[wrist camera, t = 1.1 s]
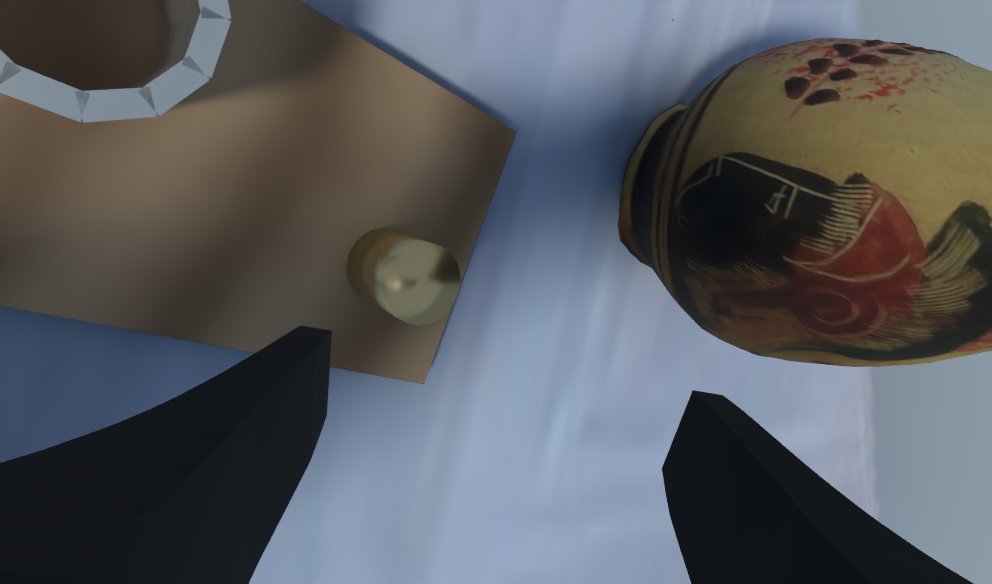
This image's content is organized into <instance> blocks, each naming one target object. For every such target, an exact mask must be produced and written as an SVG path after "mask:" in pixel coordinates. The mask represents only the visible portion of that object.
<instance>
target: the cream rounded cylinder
mask: <svg viewBox="0 0 992 584" xmlns="http://www.w3.org/2000/svg"><path fill="white" fill-rule="evenodd" d="M347 276H348V280H349V282H350V284H351V286H352V288H353V289H354V290H355V291H356V292H357V293H358V294H359V295H360V296H361V297H363V298H365V299H367V300H368V301H370V302H372V303H373V304H375V305H377V306H378V307H380V308H382V309H383V310H385V311H387V312H388V313H390V314H392V315H393V316H395V317H397V318H398V319H400V320H402V321H404V322H406V323H408V324H411V325H427V324H430V323H433V322H435V321H437V320H439V319H440V318H441V317H443V316H444V315H445V314H446V313H447V312H448V311H449V310H450V308H451V307H452V306H453V304H454V302H455V300H456V298H457V296H458V293H459V289H460V270H459V266H458V264H457V261H456V260H455V258H454V257H453V255H452V254H451V253H450V252H449V251H448V250H446V249H445V248H443V247H441V246H439V245H436V244H433V243H430V242H427V241H424V240H421V239H419V238H416V237H413V236H410V235H407V234H404V233H401V232H398V231H395V230H392V229H387V228H381V229H375V230H372V231H370V232H368V233H366V234H364V235H363V236H362V237H360V238H359V239H358V240H357V242H356V243H355V244H354V245H353V247H352V249H351V251H350V253H349V256H348V260H347Z"/></svg>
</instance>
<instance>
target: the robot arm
mask: <svg viewBox="0 0 992 584" xmlns="http://www.w3.org/2000/svg"><path fill="white" fill-rule="evenodd" d="M331 339H332V331H331V330H325V329H319V328H313V327H307V326H299V327H297V328H295V329H293V330H292V331H290V332H289V333H287V334H285V335H284V336H282V337H280V338H279V339H277V340H276V341H274V342H273V343H271V344H269V345H268V346H266V347H265V348H263V349H261V350H260V351H258V352H256V353H255V354H253V355H251V356H250V357H248V358H246V359H245V360H243V361H241V362H240V363H238V364H236V365H235V366H233V367H231V368H230V369H228V370H226V371H224V372H223V373H221V374H219V375H217V376H215V377H213V378H211V379H209V380H208V381H206V382H204V383H202V384H200V385H198V386H196V387H194V388H193V389H191V390H189V391H187V392H185V393H183V394H181V395H179V396H177V397H175V398H173V399H171V400H169V401H167V402H165V403H163V404H161V405H158V406H156V407H154V408H152V409H150V410H147V411H145V412H143V413H140V414H138V415H136V416H133V417H131V418H129V419H126V420H124V421H122V422H119V423H117V424H114V425H112V426H109V427H106V428H104V429H101V430H98V431H95V432H92V433H90V434H87V435H84V436H81V437H78V438H75V439H73V440H70V441H67V442H64V443H61V444H59V445H56V446H53V447H50V448H47V449H44V450H41V451H38V452H35V453H32V454H29V455H25V456H22V457H19V458H15V459H12V460H9V461H5V462H2V463H0V584H249V582H250V579H251V577H252V575H253V573H254V571H255V569H256V566H257V564H258V562H259V560H260V558H261V556H262V554H263V552H264V550H265V548H266V547H267V545H268V543H269V541H270V539H271V537H272V535H273V533H274V531H275V529H276V527H277V525H278V523H279V521H280V519H281V517H282V515H283V513H284V512H285V510H286V508H287V506H288V504H289V502H290V500H291V498H292V496H293V494H294V492H295V490H296V488H297V486H298V484H299V482H300V480H301V478H302V476H303V474H304V472H305V470H306V468H307V466H308V464H309V462H310V460H311V458H312V455H313V452H314V450H315V447H316V444H317V441H318V439H319V436H320V433H321V430H322V427H323V424H324V422H325V419H326V416H327V401H328V386H329V370H330V354H331ZM662 472H663V478H664V485H665V491H666V497H667V502H668V508H669V513H670V517H671V520H672V524H673V527H674V530H675V534H676V537H677V540H678V543H679V546H680V550H681V553H682V556H683V559H684V562H685V565H686V568H687V571H688V575H689V578H690V581H691V584H973V583H971V582H970V581H968V580H966V579H965V578H963V577H962V576H960V575H958V574H957V573H955V572H953V571H951V570H950V569H948V568H947V567H945V566H943V565H942V564H940V563H939V562H937V561H936V560H934V559H933V558H931V557H929V556H928V555H926V554H925V553H923V552H922V551H920V550H919V549H917V548H916V547H914V546H913V545H911V544H910V543H909V542H907V541H906V540H904V539H903V538H901V537H900V536H898V535H897V534H896V533H894V532H893V531H891V530H890V529H888V528H887V527H885V526H884V525H882V524H881V523H880V522H878V521H877V520H876V519H874V518H873V517H871V516H870V515H869V514H867V513H866V512H865V511H863V510H862V509H861V508H859V507H858V506H857V505H855V504H854V503H853V502H852V501H850V500H849V499H848V498H846V497H845V496H844V495H843V494H841V493H840V492H839V491H837V490H836V489H835V488H834V487H832V486H831V485H830V484H829V483H827V482H826V481H825V480H824V479H822V478H821V477H820V476H819V475H818V474H816V473H815V472H814V471H813V470H811V469H810V468H809V467H808V466H807V465H805V464H804V463H803V462H802V461H801V460H800V459H798V458H797V457H796V456H795V455H794V454H793V453H791V452H790V451H789V450H788V449H787V448H786V447H784V446H783V445H782V444H781V443H780V442H779V441H777V440H776V439H775V438H774V437H773V436H772V435H771V434H769V433H768V432H767V431H766V430H765V429H764V428H762V427H761V426H760V425H759V424H758V423H757V422H755V421H754V420H753V419H752V418H751V417H750V416H748V415H747V414H746V413H745V412H744V411H742V410H741V409H740V408H739V407H738V406H736V405H735V404H734V403H732V402H731V401H730V400H728V399H727V398H726V397H724V396H723V395H718V394H712V393H706V392H699V391H692V394H691V396H690V399H689V401H688V404H687V406H686V409H685V411H684V414H683V417H682V419H681V422H680V424H679V427H678V429H677V432H676V434H675V437H674V439H673V442H672V444H671V447H670V449H669V452H668V454H667V457H666V459H665V462H664V465H663V467H662Z"/></svg>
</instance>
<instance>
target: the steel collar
mask: <svg viewBox="0 0 992 584" xmlns="http://www.w3.org/2000/svg"><path fill="white" fill-rule="evenodd" d="M159 1H160V6H161V10H162V14H163V18H164V23H165V27H166V31H167V36H166V39H165V42H164V44H163V47H162V50H161V53H160V56H159V59H158V62H157V65H156V67H155V70H154V71H153V72H151V73H150V74H148V75H147V76H145V77H144V78H143V79H141V80H140V81H138V82H137V83H135V84H134V85H132V86H131V87H129V88H126V89H108V90H90V91H81V90H79V89H76V88H74V87H71V86H69V85H66V84H64V83H61V82H59V81H56V80H54V79H51V78H49V77H46V76H44V75H41V74H39V73H36V72H34V71H31V70H28V69H26V68H23V67H21V66H18V65H16V64H15V63H14V62H13V61H12V60H10V59H9V58H8V57H7V56H6V55H5V54H4V53H3V52H2V51H1V50H0V93H2V94H5V95H8V96H10V97H13V98H16V99H19V100H21V101H24V102H27V103H29V104H32V105H35V106H38V107H40V108H43V109H46V110H48V111H51V112H54V113H57V114H59V115H62V116H65V117H67V118H70V119H73V120H76V121H78V122H83V123H86V122H99V121H111V120H124V119H136V118H149V117H157V116H160V115H162V114H163V113H165V112H166V111H167V110H169V109H170V108H172V107H173V106H174V105H176V104H177V103H179V102H180V101H181V100H183V99H184V98H185V97H187V96H188V95H190V94H191V93H192V92H194V91H195V90H197V89H198V88H199V87H201V86H202V85H204V84H205V83H206V82H208V81H209V79H210V78H212V75H213V72H214V69H215V66H216V63H217V60H218V58H219V55H220V52H221V49H222V46H223V43H224V40H225V38H226V35H227V32H228V29H229V26H230V23H231V21H230V19H231V14H230V9H229V4H228V0H159Z"/></svg>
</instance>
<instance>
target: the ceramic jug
mask: <svg viewBox="0 0 992 584" xmlns="http://www.w3.org/2000/svg"><path fill="white" fill-rule="evenodd" d="M672 21H674V19H673V18H672ZM618 229H619V236H620V241H621V242H622V243H623V244H624V245H625V246H626V247H627V249H628V250H629V252H630V253H631V254H633V255H634V256H635V257H636V258H637V259H638V260H639V261H640V262H641V263H643V264H645V265H647V266H649V267H651V268H652V269H653V270H654V272H655V273H656V274H657V276H658V277H659V279H660V280H661V282H662V283H663V284H664V286H665V287H666V289H667V290H668V292H669V293H670V294H671V296H672V297H673V298H674V299H675V301H676V302H677V303H678V304H679V305H680V307H681V308H682V309H683V310H684V311H685V312H686V313H687V314H688V315H689V316H690V317H691V318H692V319H693V320H694V321H695V322H696V323H697V324H698V325H699V326H700V327H701V328H702V329H703V330H705V331H707V332H708V333H710V334H712V335H713V336H715V337H717V338H719V339H720V340H723V341H725V342H727V343H729V344H731V345H734V346H736V347H738V348H740V349H743V350H746V351H748V352H750V353H752V354H755V355H758V356H765V357H773V358H778V359H783V360H788V361H796V362H806V363H816V364H827V365H838V366H853V367H864V366H872V367H880V366H892V365H913V364H922V363H931V362H936V361H941V360H946V359H951V358H955V357H960V356H966V355H971V354H976V353H981V352H987V351H992V71H990V70H987V69H984V68H981V67H979V66H976V65H973V64H970V63H968V62H966V61H964V60H963V59H961V58H959V57H957V56H954V55H951V54H949V53H946V52H943V51H936V50H931V49H924V48H922V47H916V46H913V45H910V44H906V43H893V42H884V41H880V40H862V39H842V38H821V39H814V40H809V41H801V42H795V43H791V44H787V45H783V46H779V47H776V48H773V49H770V50H767V51H764V52H762V53H759V54H757V55H754V56H752V57H750V58H748V59H746V60H744V61H742V62H740V63H738V64H736V65H734V66H732V67H731V68H729V69H728V70H727V71H725V72H724V73H722V74H721V75H720V76H718V77H717V78H715V79H714V80H713V81H712V82H711V83H710V84H709V85H707V86H706V87H705V88H704V89H703V90H702V91H701V92H700V93H699V94H698V95H697V96H696V97H695V98H694V100H693V101H692V102H691V103H690V104H689V106H687V105H683V104H681V103H679V104H677V105H676V106H674V107H673V108H671V109H669V110H667V111H666V112H664V113H662V114H660V115H659V116H658V117H657V118H656V119H655V120H654V121H653V122H652V123H651V125H650V126H649V128H648V130H647V131H646V133H645V135H644V136H643V138H642V140H641V141H640V143H639V145H638V146H637V148H636V150H635V151H634V153H633V155H632V156H631V158H630V160H629V163H628V165H627V168H626V171H625V177H624V183H623V189H622V195H621V201H620V214H619V222H618Z"/></svg>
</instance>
